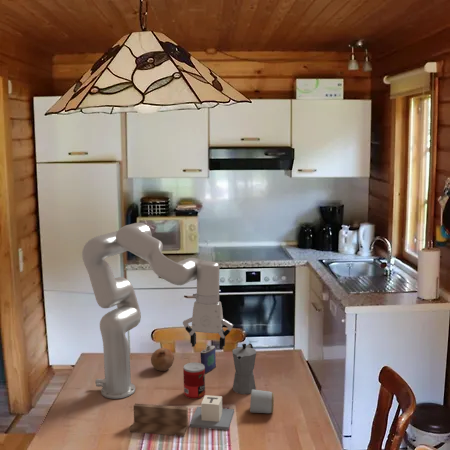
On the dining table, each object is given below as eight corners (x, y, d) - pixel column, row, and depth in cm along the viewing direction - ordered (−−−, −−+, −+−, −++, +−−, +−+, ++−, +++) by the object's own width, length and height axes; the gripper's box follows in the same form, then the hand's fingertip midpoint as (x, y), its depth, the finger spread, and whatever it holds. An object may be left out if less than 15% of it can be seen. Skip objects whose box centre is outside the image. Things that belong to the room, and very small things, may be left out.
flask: (212, 365, 229) (211, 340, 228) (217, 366, 228) (217, 342, 226) (199, 373, 222) (199, 348, 220) (205, 374, 220) (204, 349, 218)
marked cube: (201, 420, 183) (201, 403, 182) (205, 411, 189) (204, 394, 188) (219, 421, 182) (218, 404, 181) (222, 412, 188) (222, 396, 187)
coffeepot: (250, 398, 200) (250, 351, 197) (226, 394, 203) (226, 348, 200) (263, 381, 214) (263, 337, 211) (240, 377, 217) (240, 334, 214)
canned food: (202, 400, 199) (202, 371, 197) (181, 398, 201) (180, 369, 199) (207, 390, 206) (206, 363, 205) (187, 388, 208) (186, 361, 206)
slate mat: (189, 426, 181) (189, 424, 180) (197, 409, 192) (197, 406, 192) (228, 430, 178) (228, 427, 178) (233, 411, 190) (233, 409, 190)
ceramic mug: (273, 417, 186) (274, 396, 185) (249, 416, 187) (249, 395, 186) (274, 403, 197) (274, 382, 196) (251, 402, 197) (251, 382, 196)
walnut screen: (130, 431, 178) (129, 411, 177) (135, 423, 183) (135, 403, 182) (184, 436, 175) (183, 415, 174) (188, 427, 180) (187, 407, 179)
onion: (164, 379, 223) (162, 363, 217) (147, 369, 227) (145, 353, 221) (179, 364, 229) (178, 348, 223) (161, 354, 234) (160, 338, 228)
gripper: (180, 299, 181) (180, 348, 184) (231, 303, 178) (230, 353, 181) (185, 293, 189) (185, 340, 192) (235, 296, 186) (234, 344, 188)
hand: (207, 346), depth 186 cm, fingers open, 9 cm apart
